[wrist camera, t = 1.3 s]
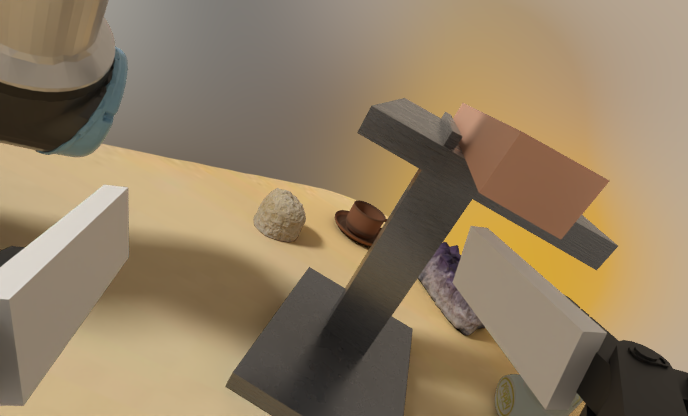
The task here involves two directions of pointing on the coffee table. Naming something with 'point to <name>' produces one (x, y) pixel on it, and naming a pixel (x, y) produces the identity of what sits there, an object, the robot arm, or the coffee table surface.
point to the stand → (378, 285)
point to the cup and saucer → (361, 222)
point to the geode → (448, 289)
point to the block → (525, 173)
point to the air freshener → (523, 399)
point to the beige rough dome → (280, 216)
